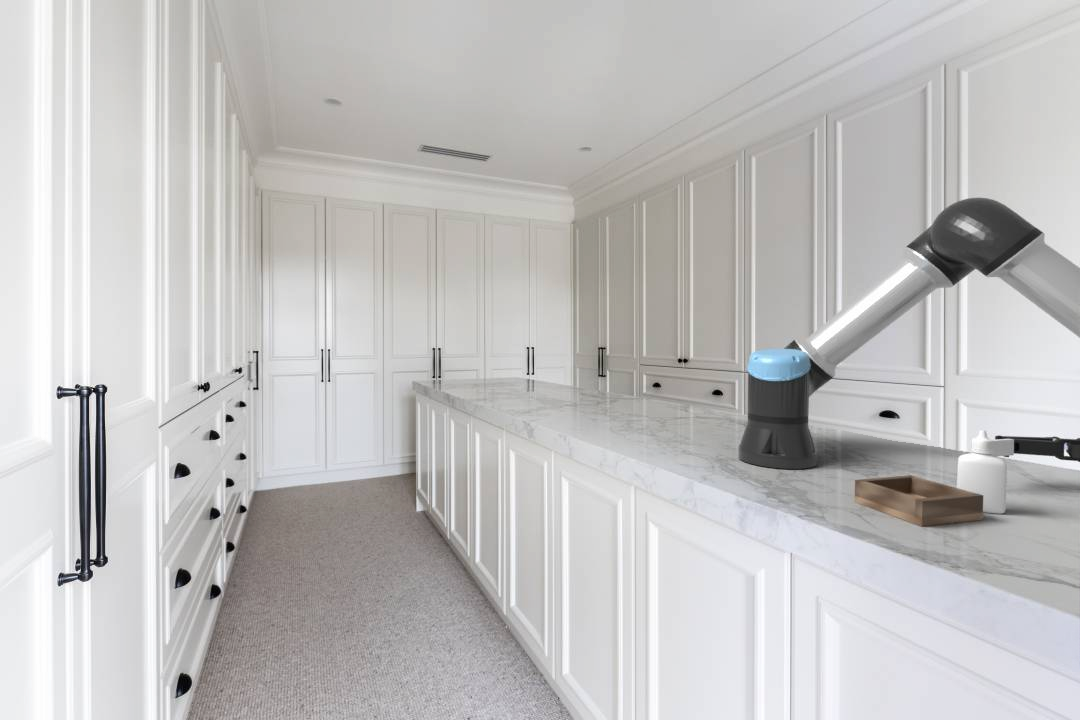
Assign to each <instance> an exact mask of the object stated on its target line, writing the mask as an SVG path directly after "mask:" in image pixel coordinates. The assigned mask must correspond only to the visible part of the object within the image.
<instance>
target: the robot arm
mask: <svg viewBox="0 0 1080 720" xmlns="http://www.w3.org/2000/svg"><path fill="white" fill-rule="evenodd" d="M975 270H977V271H978V272H979V273H981V274H982V275H984V276H985V277H987V278H998V279H1001V280H1002V281H1003V282H1004V283H1006V284H1007V285H1008V286H1010V287H1011V288H1012V289H1013V290H1015V291H1016V292H1018V293H1019V294H1020V295H1022V296H1023V297H1024V298H1026V299H1028V300H1029V301H1030V302H1031V303H1032V304H1034V305H1036V306H1037V307H1038V308H1039V309H1041V310H1042V311H1043V312H1045V313H1046V314H1048V316H1050V317H1052V318H1053V319H1054V320H1055V321H1057V322H1058V323H1060V324H1061V325H1062V326H1063V327H1065V328H1066V329H1067V330H1069V331H1070V332H1071V333H1073V334H1074V335H1075V336H1076V337H1077V338H1080V267H1079V265H1076V264H1075V263H1073V262H1072V261H1071V260H1069V258H1067V257H1065V256H1063V254H1061V253H1060V252H1058V251H1057V250H1055V249H1054V248H1052V247H1051V246H1050V245H1048V244H1047V243H1046V242H1045V233H1044V232H1043V231H1042V230H1040V229H1039V228H1037V227H1036V226H1035V225H1033V224H1032V223H1030V222H1029V221H1028V220H1026V219H1025V218H1024V217H1022V216H1021V215H1019V214H1018V213H1017V212H1015V211H1014V210H1013V209H1011V208H1010V207H1008V206H1006V204H1004V203H1001V202H999V200H995V199H992V198H987V197H969V198H965V199H961V200H958V201H956V202H954V203H952V204H950V205H948V206H947V207H945V208H944V209H943V210H942V211H940V213H939V214H938V215H937V216H936V218H935V219H934V220H933V223H932V224H931V225H930V226H929V227H928V228H927V229H926V230H924V231H923V232H922V233H921V234H920V235H918V236H917V237H916V238H915V239H914V240H912V241H911V242H910V243H908V245H906V246H905V247H904V248H903V257H902V259H901V260H900V261H899V262H897V264H895V265H894V266H893V267H891V268H890V269H889V270H888V271H887V272H885V274H883V275H882V276H881V277H880V278H878V279H877V280H875V282H874V283H872V284H871V285H870V286H868V287H867V288H866V289H865V290H864V291H863V292H861V293H860V294H859V295H858V296H856V297H855V298H854V299H853V300H851V302H849V303H848V304H847V305H846V306H844V307H843V308H841V310H840V311H838V312H837V313H836V314H835V315H833V316H832V317H831V318H830V319H829V320H827V321H826V322H825V323H823V324H822V325H821V326H820V327H819V328H818V329H816V330H815V331H814V332H813V333H811V334H810V335H809V336H808V337H806V338H795V339H793V340H792V341H791V342H790V343H789V344H787V345H786V346H785V347H784V348H767V349H760V350H755V351H753V352H752V353H751V354H750V355H749V358H748V363H747V371H748V374H747V375H748V377H747V423H746V426H745V429H744V431H743V434H742V437H741V441H740V443H739V445H738V451H737V452H738V454H737V457H738V459H739V460H740V461H742V462H745V463H748V464H751V465H756V466H761V467H764V468H765V467H767V468H773V469H775V468H776V469H786V470H788V469H789V470H799V469H802V470H803V469H811V468H814V467H816V466H817V465H818V452H817V450H816V448H815V445H814V440H813V437H812V433H811V431H810V428H809V416H810V415H809V410H810V409H809V408H810V406H809V405H810V402H809V401H810V397H811V396H813V394H814V393H815V392H816V391H818V390H819V389H820V388H822V387H824V386H825V385H826V384H827V383H828V382H830V381H831V380H832V379H833V378H835V376H836V367H838V365H840V364H842V362H844V361H845V360H847V358H849V357H850V356H851V355H853V354H854V353H856V352H857V351H858V350H859V349H860V348H862V347H863V346H864V345H866V344H867V343H869V341H871V340H872V339H873V338H875V337H876V336H877V335H878V334H880V333H881V332H882V331H884V330H886V328H888V327H889V326H890V325H891V324H892V323H894V322H896V321H897V320H898V319H900V318H901V317H902V316H904V315H905V314H906V313H907V312H908V311H910V310H911V309H912V308H914V307H915V306H916V305H918V304H919V303H920V302H922V301H923V300H924V299H925V298H927V297H928V296H929V295H930V294H932V293H933V292H935V290H937V289H943V288H952V287H954V286H955V285H956V284H958V283H959V282H960V281H962V280H963V279H965V278H966V277H967V276H968V275H970V274H971V273H972V272H973V271H975ZM992 440H993V454H992V455H993V456H996V457H1004V458H1010V457H1011V456H1014V454H1018V455H1031V456H1042V457H1043V456H1044V457H1045V456H1047V457H1055V458H1057V459H1058V460H1062V461H1070V462H1071V461H1073V462H1078V463H1080V437H1078V438H1060V437H1058V436H1046V437H1045V436H1044V437H1042V436H1041V437H1040V436H1038V437H1036V436H1014V435H1012V436H1011V435H1005V436H1004V435H995V436H994V439H992ZM1065 451H1066V453H1067V454H1068V455H1065Z"/></svg>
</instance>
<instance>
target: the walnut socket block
mask: <svg viewBox="0 0 1080 720" xmlns="http://www.w3.org/2000/svg"><path fill="white" fill-rule="evenodd" d="M854 502H855V503H856V504H859V505H862V506H865V507H867V508H870V509H873V510H875V511H878V512H881V513H884V514H887V515H890V516H892V517H894V518H898V519H901V520H903V521H905V522H909V523H910V524H911V523H912V524H913V525H916V526H919V527H929V526H939V525H946V524H947V523H948V524H956V523H963V522H964V523H965V522H972V521H980V520H981V521H983V516H984V514H983V513H984V512H983V495H980V494H977V493H973V492H969V491H966V490H962V489H958V488H957V487H955V486H951V485H946V484H943V483H940V482H936V481H932V480H929V479H925V478H921V477H918V476H914V475H901V476H899V475H897V476H887V477H874V478H863V479H860V478H859V479H854ZM954 522H956V523H954ZM938 524H939V525H938ZM948 524H947V525H948Z"/></svg>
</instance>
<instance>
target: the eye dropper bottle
mask: <svg viewBox="0 0 1080 720" xmlns="http://www.w3.org/2000/svg"><path fill="white" fill-rule="evenodd" d="M993 440H994V439H991V438H990V437H988V434H987V431H986V430H985V429H984V430H983V429H980V430H979V432H978V435H977V436H976V437H973V438H971V453H964V454H961V455H959V456H958V457H957V473H956V488H958V489H962V490H966V491H969V492H973V493H977V494H980V495H983V513H985V514H986V513H988V514H996V515H997V514H998V515H1001V514H1005V512H1006V508H1007V479H1008V478H1007V475H1008V465H1007V462H1006V461H1005V460H1004V459H1002V458H1000V457H999V456H997V457H996V456H993V455H992V454H993Z"/></svg>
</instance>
